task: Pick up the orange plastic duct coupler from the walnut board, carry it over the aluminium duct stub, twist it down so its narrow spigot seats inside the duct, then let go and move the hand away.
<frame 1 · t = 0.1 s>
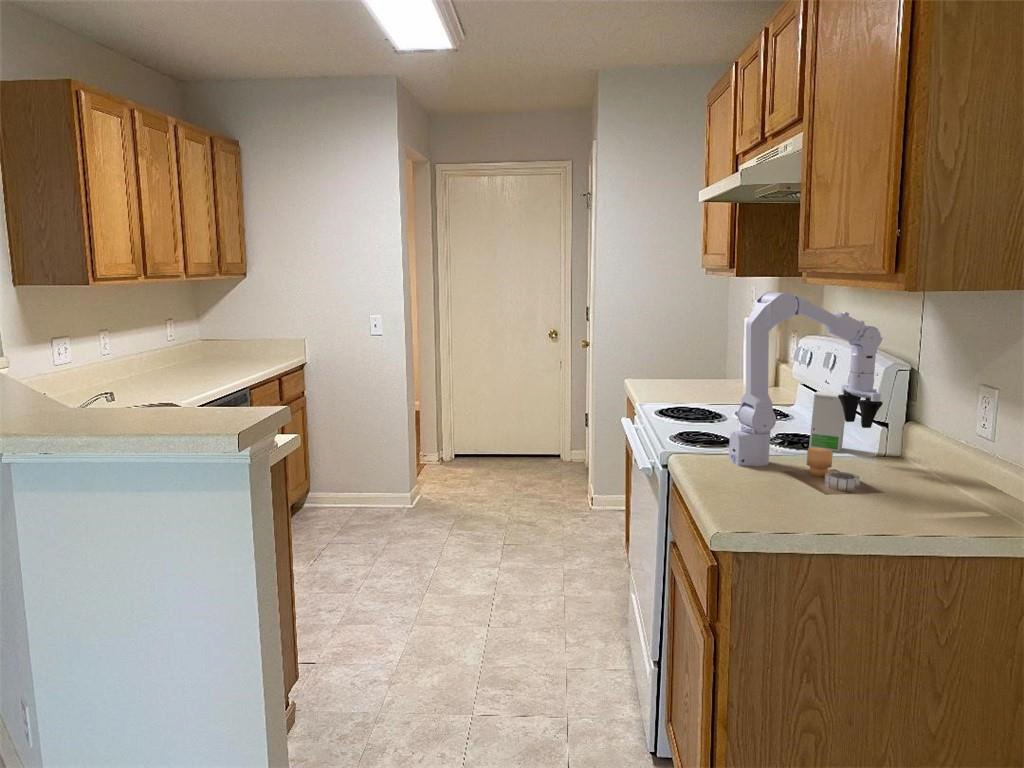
hand: (857, 424, 198), 10 cm above the counter, tool pointing down, fingers open, 7 cm apart
duct stub: (841, 486, 174), resting on vent board
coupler: (818, 474, 184), point 1 cm above the counter, touching vent board
vent board: (830, 484, 179), on the counter
skincare box: (826, 449, 216), on the counter
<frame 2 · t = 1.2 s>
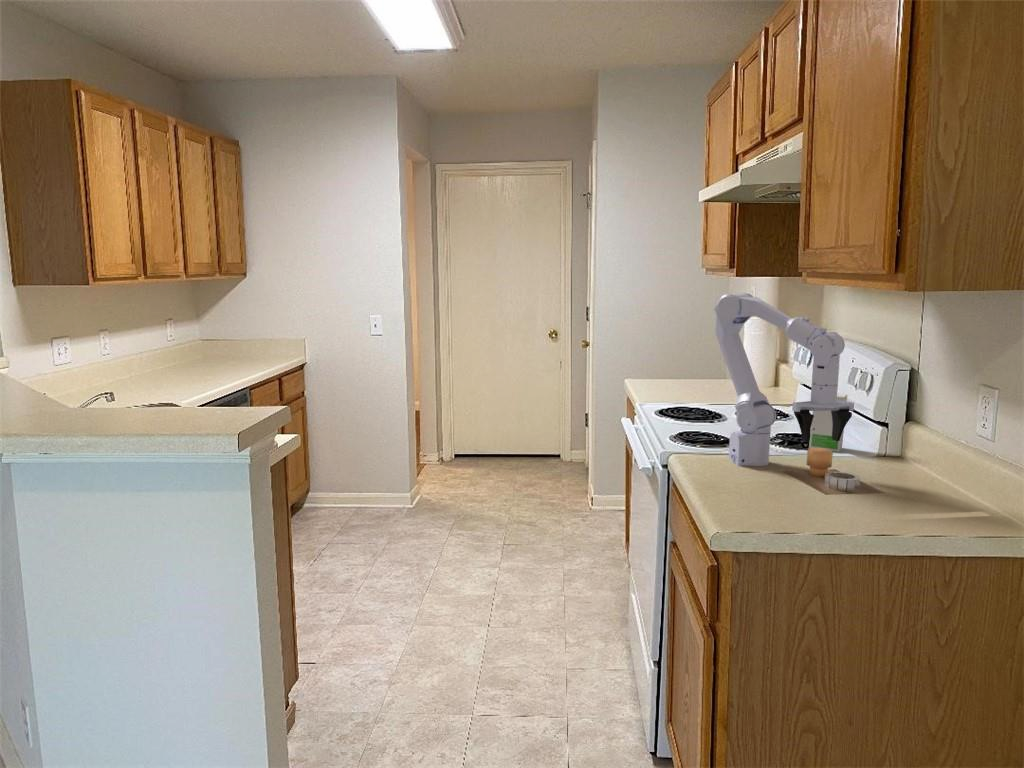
hand: (820, 440, 183), 9 cm above the counter, tool pointing down, fingers open, 7 cm apart
nothing on the counter moved.
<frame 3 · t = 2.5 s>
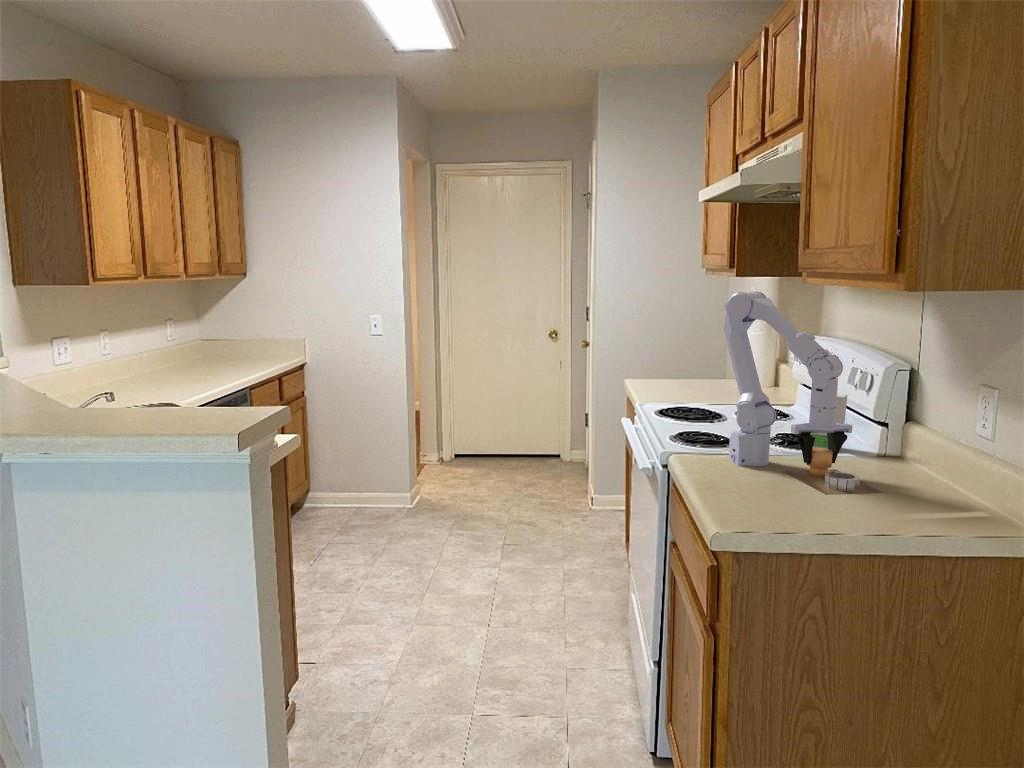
hand: (819, 462, 184), 4 cm above the counter, tool pointing down, fingers closed on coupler, 6 cm apart
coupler: (818, 474, 184), point 1 cm above the counter, touching gripper, vent board
everything else where it was.
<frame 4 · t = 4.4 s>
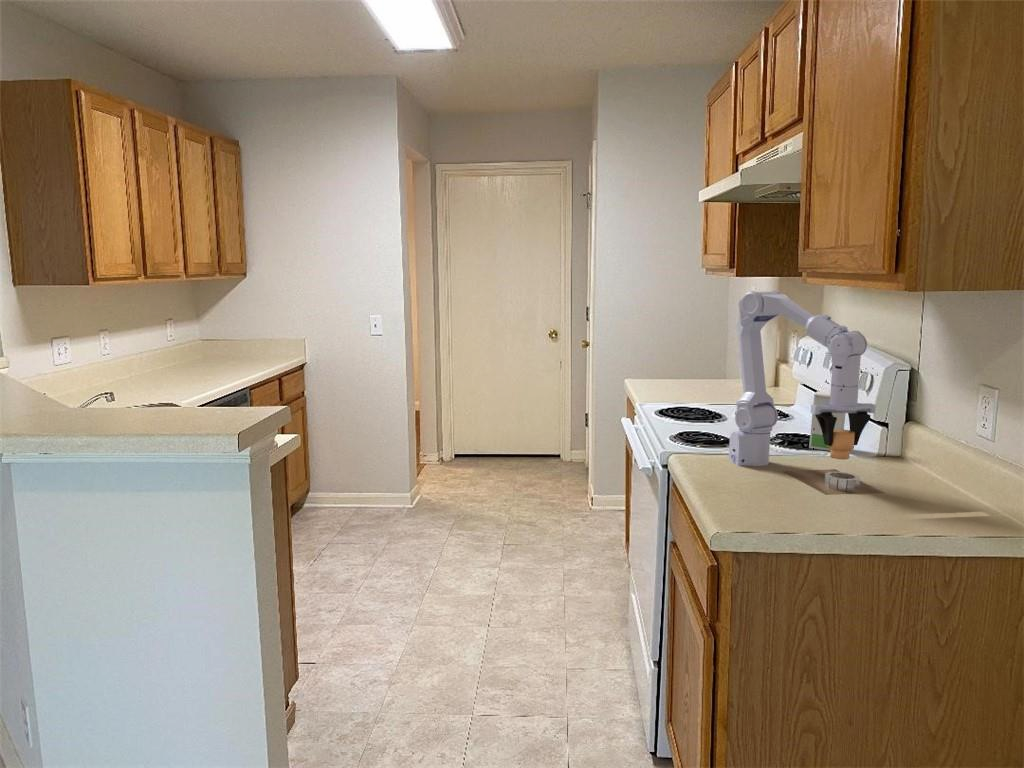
hand: (840, 444, 175), 10 cm above the counter, tool pointing down, fingers closed on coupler, 6 cm apart
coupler: (839, 457, 175), point 7 cm above the counter, touching gripper
everything else where it was.
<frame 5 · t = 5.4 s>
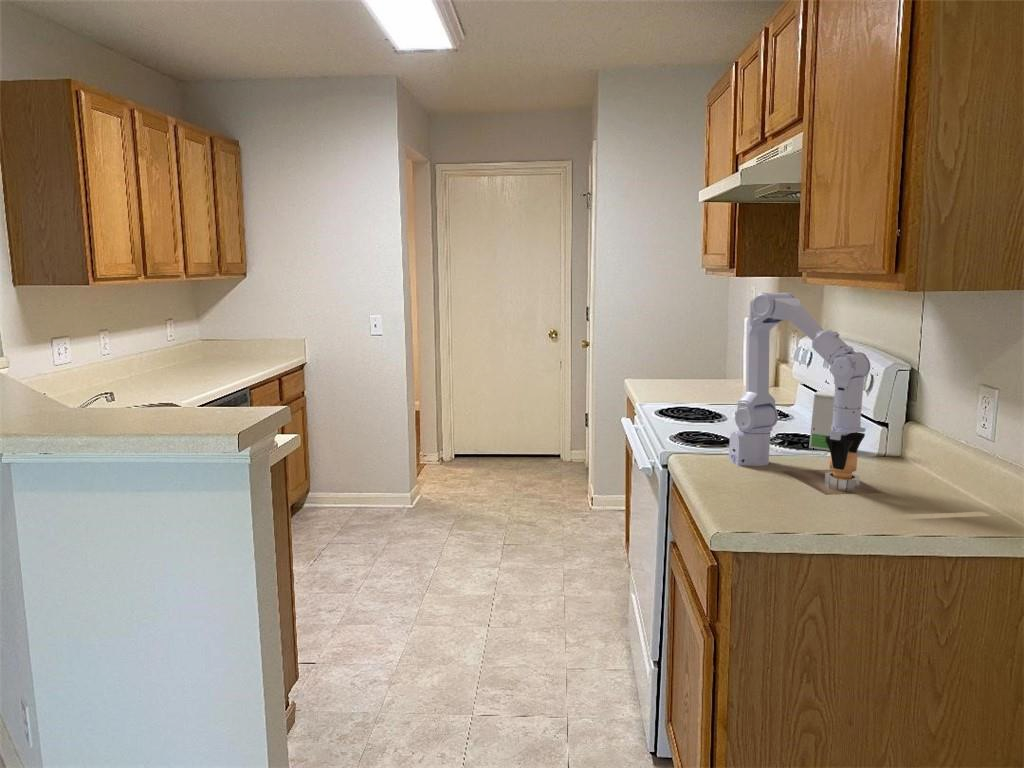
hand: (843, 466, 174), 6 cm above the counter, tool pointing down, fingers closed on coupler, 6 cm apart
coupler: (842, 479, 174), point 3 cm above the counter, touching gripper
everything else where it was.
when the fingers open (5 cm above the counter, at t = 6.2 s): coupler stays where it is, resting on duct stub.
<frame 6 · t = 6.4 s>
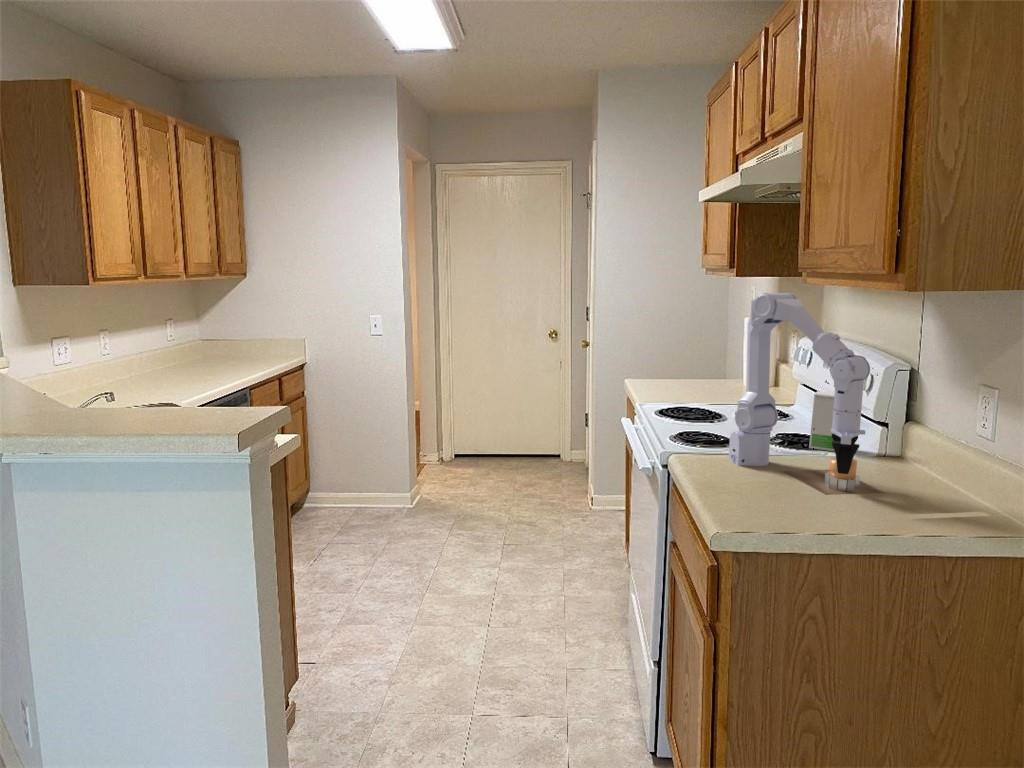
hand: (842, 469, 174), 5 cm above the counter, tool pointing down, fingers open, 7 cm apart
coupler: (841, 486, 174), point 1 cm above the counter, touching duct stub
everything else where it was.
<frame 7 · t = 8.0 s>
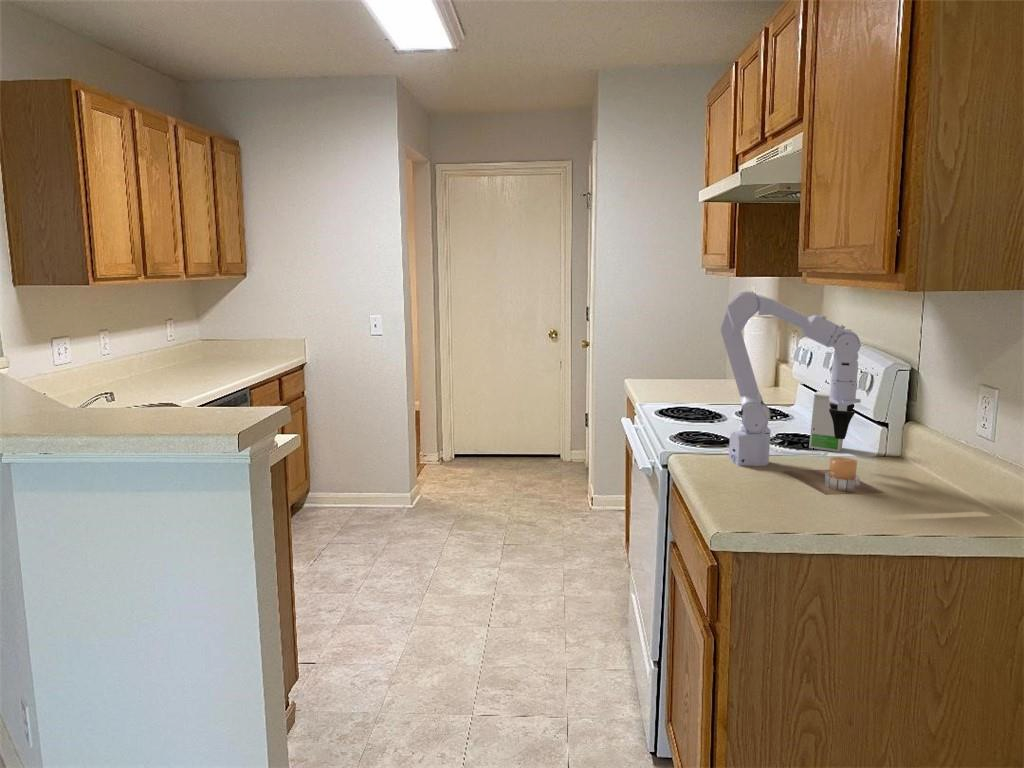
hand: (839, 435, 188), 9 cm above the counter, tool pointing down, fingers open, 7 cm apart
nothing on the counter moved.
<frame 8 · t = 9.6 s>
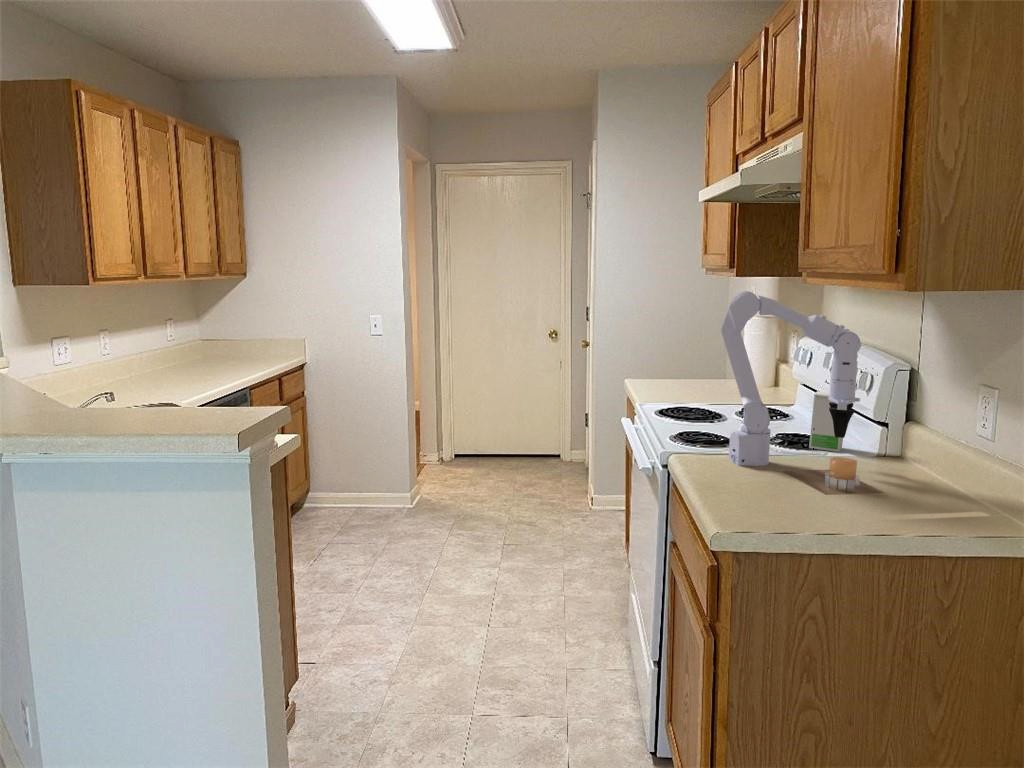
hand: (839, 434, 189), 9 cm above the counter, tool pointing down, fingers open, 7 cm apart
nothing on the counter moved.
at the end: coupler 0.0 cm off-centre on the duct stub, point 0.1 cm above the duct stub's base; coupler tilted 0°; the gripper is holding nothing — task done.
